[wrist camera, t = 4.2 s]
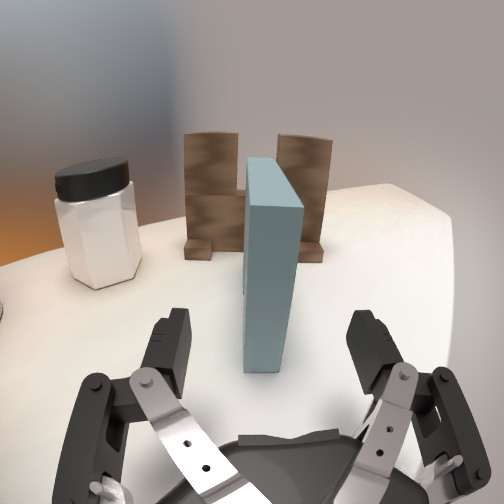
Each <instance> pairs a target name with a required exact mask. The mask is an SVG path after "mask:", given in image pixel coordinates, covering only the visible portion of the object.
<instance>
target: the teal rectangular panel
mask: <svg viewBox="0 0 504 504" xmlns="http://www.w3.org/2000/svg"><path fill="white" fill-rule="evenodd" d="M303 215H304V206H303V204H302V203H301V201H300V199H299V198H298V196H297V194H296V193H295V191H294V189H293V188H292V186H291V185H290V183H289V181H288V180H287V178H286V177H285V175H284V173H283V172H282V170H281V169H280V167H279V166H278V164H277V163H276V161H275V159H274V158H254V157H247V173H246V199H245V228H244V259H243V294H244V320H243V363H244V372H279V369H280V364H281V359H282V354H283V348H284V343H285V337H286V331H287V325H288V320H289V314H290V307H291V301H292V295H293V288H294V282H295V275H296V268H297V261H298V254H299V247H300V239H301V232H302V224H303Z"/></svg>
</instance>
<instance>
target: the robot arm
mask: <svg viewBox="0 0 504 504" xmlns="http://www.w3.org/2000/svg"><path fill="white" fill-rule="evenodd" d="M1 314H2V303H1V301H0V317H1ZM191 341H192V332H191V325H190V317H189V310H188V309H184V308H172V310H171V313H170V316H169V318H161V319H160V320H159V321H158V322H157V323H156V324H155V325H154V328H153V331H152V335H151V337H150V340H149V343H148V346H147V349H146V352H145V355H144V358H143V361H142V364H141V367H140V369H138V370H136V371H135V372H134V373H133V374H132V375H131V376H130V377H128V378H123V379H114V380H110V379H109V378H108V376H106V375H105V374H103V373H92V374H90V375H88V376H87V377H86V378H85V379H84V380H83V382H82V384H81V387H80V390H79V393H78V396H77V399H76V402H75V405H74V408H73V412H72V415H71V418H70V422H69V425H68V428H67V432H66V436H65V439H64V443H63V447H62V451H61V455H60V460H59V464H58V469H57V474H56V479H55V484H54V489H53V495H52V504H134V503H133V497H132V494H131V492H130V491H129V490H128V489H127V488H126V487H125V486H123V485H121V475H122V467H123V460H124V453H125V447H126V440H127V434H128V429H129V423H132V422H141V421H148V420H149V422H150V424H151V425H152V427H153V429H154V430H155V432H156V434H157V435H158V437H159V438H160V440H161V442H162V443H163V445H164V446H165V448H166V449H167V451H168V452H169V454H170V455H171V457H172V458H173V460H174V461H175V463H176V464H177V466H178V467H179V468H180V470H181V471H182V473H183V474H184V475H185V478H184V479H183V480H182V481H181V482H180V483H179V484H178V485H176V486H175V487H174V488H173V489H172V490H171V491H170V492H169V493H167V494H166V495H165V496H164V497H163V498H162V499H160V500H159V501H158V502H157V503H156V504H450V503H452V502H454V501H457V500H459V499H461V498H463V497H465V496H467V495H469V494H471V493H473V492H475V491H477V490H479V489H481V488H482V487H484V486H485V485H486V484H487V483H488V481H489V480H490V477H491V468H490V464H489V461H488V457H487V454H486V451H485V448H484V445H483V443H482V439H481V437H480V434H479V431H478V429H477V426H476V423H475V421H474V418H473V416H472V413H471V411H470V409H469V406H468V404H467V402H466V399H465V397H464V395H463V393H462V390H461V388H460V386H459V384H458V382H457V380H456V378H455V376H454V374H453V372H452V371H451V370H449V369H448V368H446V367H437V368H436V369H435V370H434V371H433V372H432V374H430V373H420V372H417V370H416V368H415V367H414V366H413V365H411V364H409V363H406V362H404V361H403V359H402V357H401V354H400V352H399V350H398V348H397V346H396V344H395V343H394V341H393V339H392V337H391V335H390V333H389V331H388V329H387V327H386V325H384V324H383V323H382V322H381V321H380V320H379V319H375V318H374V316H373V314H372V312H371V311H370V310H356V311H355V312H354V313H353V316H352V319H351V322H350V325H349V328H348V331H347V334H346V342H347V345H348V348H349V351H350V354H351V357H352V360H353V362H354V365H355V368H356V371H357V374H358V377H359V380H360V383H361V386H362V389H363V392H364V395H367V394H373V396H374V398H373V399H372V401H371V403H370V405H369V408H368V410H367V412H366V414H365V416H364V418H363V420H362V422H361V424H360V427H359V428H358V430H357V432H356V433H355V435H354V436H353V438H352V437H349V436H346V435H340V434H339V430H338V429H331V430H323V431H315V432H312V433H309V434H306V435H303V436H300V437H297V438H293V439H285V438H279V437H273V436H268V435H238V441H233V442H230V443H227V444H225V445H222V446H220V447H219V448H217V447H216V446H215V445H214V444H213V443H212V441H211V440H210V439H209V438H208V436H207V435H206V434H205V433H204V431H203V430H202V429H201V427H200V426H199V425H198V423H197V422H196V421H195V419H194V418H193V417H192V415H191V414H190V413H189V412H188V410H187V409H184V408H183V407H182V406H181V404H180V403H179V401H178V400H177V399H182V393H183V387H184V381H185V375H186V370H187V364H188V358H189V353H190V347H191ZM436 406H437V409H438V411H439V414H440V417H441V422H440V419H439V416H438V413H437V411H436V408H435V407H436ZM410 421H412V424H413V428H414V431H415V434H416V438H417V441H418V445H419V449H420V452H421V456H422V460H423V464H424V470H423V471H422V474H421V479H420V480H419V484H418V483H417V482H415V481H414V480H412V479H411V478H409V477H408V476H407V475H405V474H404V473H402V472H401V471H399V470H398V469H397V468H395V467H394V464H395V462H396V460H397V457H398V455H399V452H400V450H401V447H402V444H403V442H404V439H405V436H406V433H407V430H408V427H409V424H410Z"/></svg>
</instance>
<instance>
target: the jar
mask: <svg viewBox="0 0 504 504" xmlns="http://www.w3.org/2000/svg"><path fill="white" fill-rule="evenodd" d="M55 188H56V192H57V196H58V198H57V199H56V200H55V207H56V212H57V217H58V221H59V226H60V230H61V235H62V239H63V243H64V247H65V250H66V254H67V258H68V261H69V265H70V268H71V271H72V275H73V277H74V278H75V279H77V280H79V281H81V282H82V283H84V284H86V285H88V286H89V287H91V288H93V289H95V290H96V289H100V288H103V287H106V286H109V285H112V284H116V283H119V282H122V281H125V280H129V279H132V278H133V277H134V275H135V273H136V270H137V268H138V265H139V263H140V261H141V259H142V252H141V246H140V239H139V232H138V224H137V218H136V208H135V199H134V189H133V182H131V181H129V167H128V160H127V159H126V158H105V159H98V160H93V161H87V162H83V163H79V164H76V165H72V166H69V167H67V168H64V169H62V170H60V171H58V172H57V173H56V174H55Z"/></svg>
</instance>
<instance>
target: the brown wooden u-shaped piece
mask: <svg viewBox="0 0 504 504" xmlns="http://www.w3.org/2000/svg"><path fill="white" fill-rule="evenodd" d="M332 142H333V141H332V140H330V139H327V138H319V137H310V136H299V135H289V134H278V142H277V158H276V163H277V164H278V166H279V167H280V169H281V170H282V172H283V173H284V175H285V177H286V178H287V180H288V181H289V183H290V185H291V186H292V188H293V189H294V191H295V193H296V194H297V196H298V198H299V199H300V201H301V203H302V204H303V206H304V215H303V224H302V232H301V239H300V247H299V254H298V261H297V262H317V263H322V258H323V253H324V251H323V249H322V247H321V245H320V243H319V241H320V235H321V228H322V222H323V215H324V208H325V201H326V194H327V186H328V178H329V169H330V161H331V152H332ZM237 155H238V132H187V133H185V134H184V176H185V178H184V179H185V205H186V224H187V242H186V244H185V247H184V255H185V259H186V260H211V255H212V251H239V252H244V228H245V199H246V190H237V158H238V156H237Z"/></svg>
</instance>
